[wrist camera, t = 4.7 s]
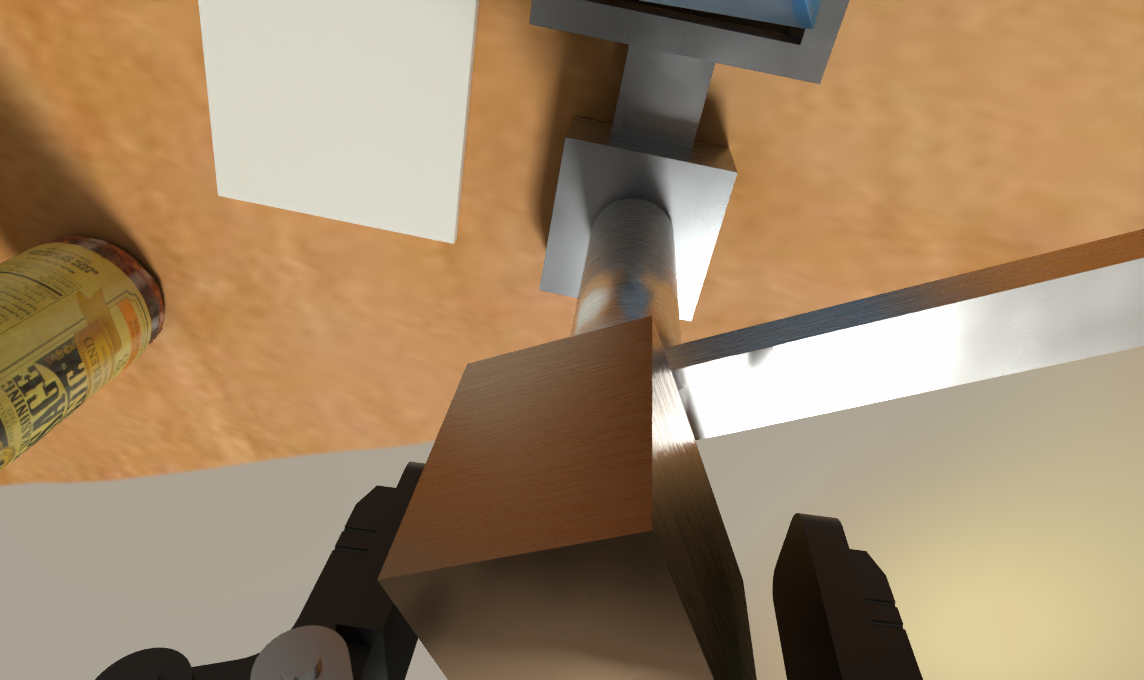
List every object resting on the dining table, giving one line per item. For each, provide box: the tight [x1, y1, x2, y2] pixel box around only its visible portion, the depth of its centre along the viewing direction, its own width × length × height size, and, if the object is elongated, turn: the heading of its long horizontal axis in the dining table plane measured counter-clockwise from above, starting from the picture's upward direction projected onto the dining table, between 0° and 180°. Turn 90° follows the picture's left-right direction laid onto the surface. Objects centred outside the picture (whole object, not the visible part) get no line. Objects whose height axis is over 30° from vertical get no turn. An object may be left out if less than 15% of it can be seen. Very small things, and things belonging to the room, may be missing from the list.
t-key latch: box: [377, 198, 1144, 680], centre depth 16 cm, size 14×7×18 cm, turn 110°
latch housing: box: [529, 0, 849, 321], centre depth 23 cm, size 19×10×3 cm, turn 170°
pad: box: [198, 0, 479, 244], centre depth 26 cm, size 12×10×1 cm
